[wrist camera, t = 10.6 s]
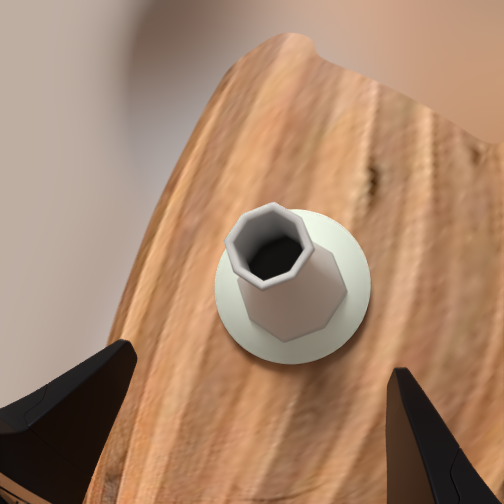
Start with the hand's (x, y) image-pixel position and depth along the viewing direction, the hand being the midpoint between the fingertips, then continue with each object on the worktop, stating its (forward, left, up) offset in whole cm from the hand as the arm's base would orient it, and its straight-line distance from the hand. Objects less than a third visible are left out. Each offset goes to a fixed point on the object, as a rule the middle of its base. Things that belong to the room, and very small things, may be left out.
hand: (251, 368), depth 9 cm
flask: (+4, -1, -11) cm, 12 cm away
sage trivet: (+4, -1, -12) cm, 13 cm away
